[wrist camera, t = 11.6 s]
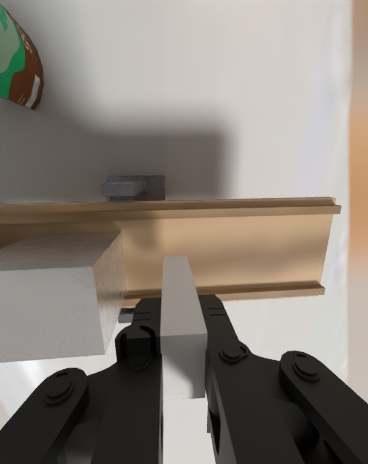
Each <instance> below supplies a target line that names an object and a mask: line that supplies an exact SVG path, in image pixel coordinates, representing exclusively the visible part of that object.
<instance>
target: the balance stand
mask: <svg viewBox="0 0 368 464" xmlns="http://www.w3.org/2000/svg"><path fill="white" fill-rule="evenodd" d="M108 181H109V183H107V184H102V186H103V195H104V196H110V199H111V200H117V199H133V200H134V201H165V190H164V176H108ZM134 311H135V307H134V308H121V310H120V313H119V316H118V322H119V323H131V322H132V319H133V315H134Z"/></svg>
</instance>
